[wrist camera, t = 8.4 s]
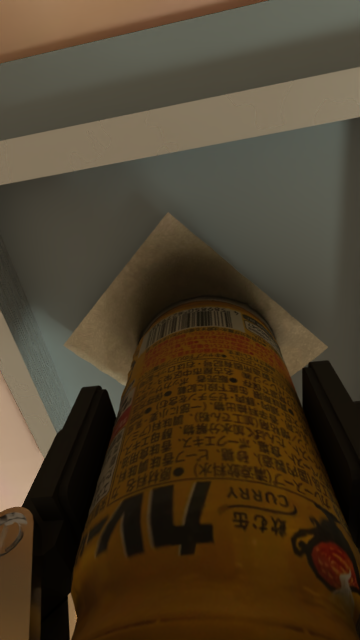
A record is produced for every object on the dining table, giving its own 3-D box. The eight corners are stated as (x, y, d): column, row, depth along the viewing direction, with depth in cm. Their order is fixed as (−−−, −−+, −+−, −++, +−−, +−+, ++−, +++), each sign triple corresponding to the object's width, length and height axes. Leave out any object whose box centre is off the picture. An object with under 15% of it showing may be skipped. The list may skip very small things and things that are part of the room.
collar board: (382, 470, 20) (406, 513, 18) (88, 491, 22) (75, 532, 20) (454, -37, 10) (530, -89, 8) (-89, 89, 12) (-156, 78, 10)
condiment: (210, 438, 17) (232, 922, 7) (64, 343, 15) (-263, 842, 4) (326, 344, 14) (694, 920, 4) (168, 209, 12) (-27, 693, 2)
